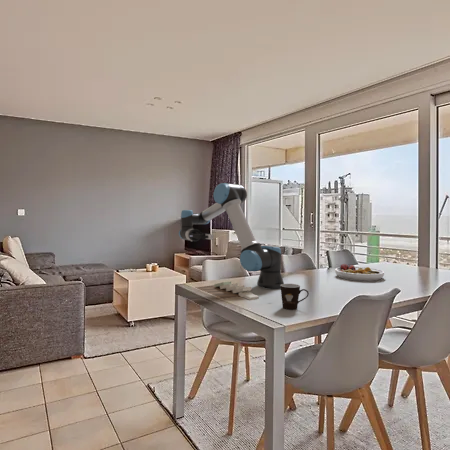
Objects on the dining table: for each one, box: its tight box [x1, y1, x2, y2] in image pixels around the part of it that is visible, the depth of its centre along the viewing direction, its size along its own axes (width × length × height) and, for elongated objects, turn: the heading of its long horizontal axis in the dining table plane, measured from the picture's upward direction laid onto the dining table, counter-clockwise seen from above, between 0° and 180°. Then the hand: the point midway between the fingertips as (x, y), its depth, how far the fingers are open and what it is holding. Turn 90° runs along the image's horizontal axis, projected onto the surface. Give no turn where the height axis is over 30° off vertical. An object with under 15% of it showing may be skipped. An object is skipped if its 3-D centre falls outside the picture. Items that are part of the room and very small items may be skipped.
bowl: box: [334, 263, 385, 282], centre depth 241 cm, size 30×30×8 cm
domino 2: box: [220, 283, 239, 289], centre depth 196 cm, size 2×5×10 cm
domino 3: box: [226, 285, 245, 291], centre depth 191 cm, size 2×5×10 cm
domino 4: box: [232, 286, 253, 293], centre depth 185 cm, size 2×5×10 cm
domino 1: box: [214, 281, 233, 287], centre depth 201 cm, size 2×5×10 cm
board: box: [194, 284, 241, 300], centre depth 194 cm, size 31×17×1 cm, turn 31°
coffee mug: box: [280, 283, 309, 311], centre depth 162 cm, size 12×9×10 cm
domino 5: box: [239, 291, 260, 301], centre depth 180 cm, size 2×5×10 cm
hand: (212, 237), depth 211 cm, fingers closed
